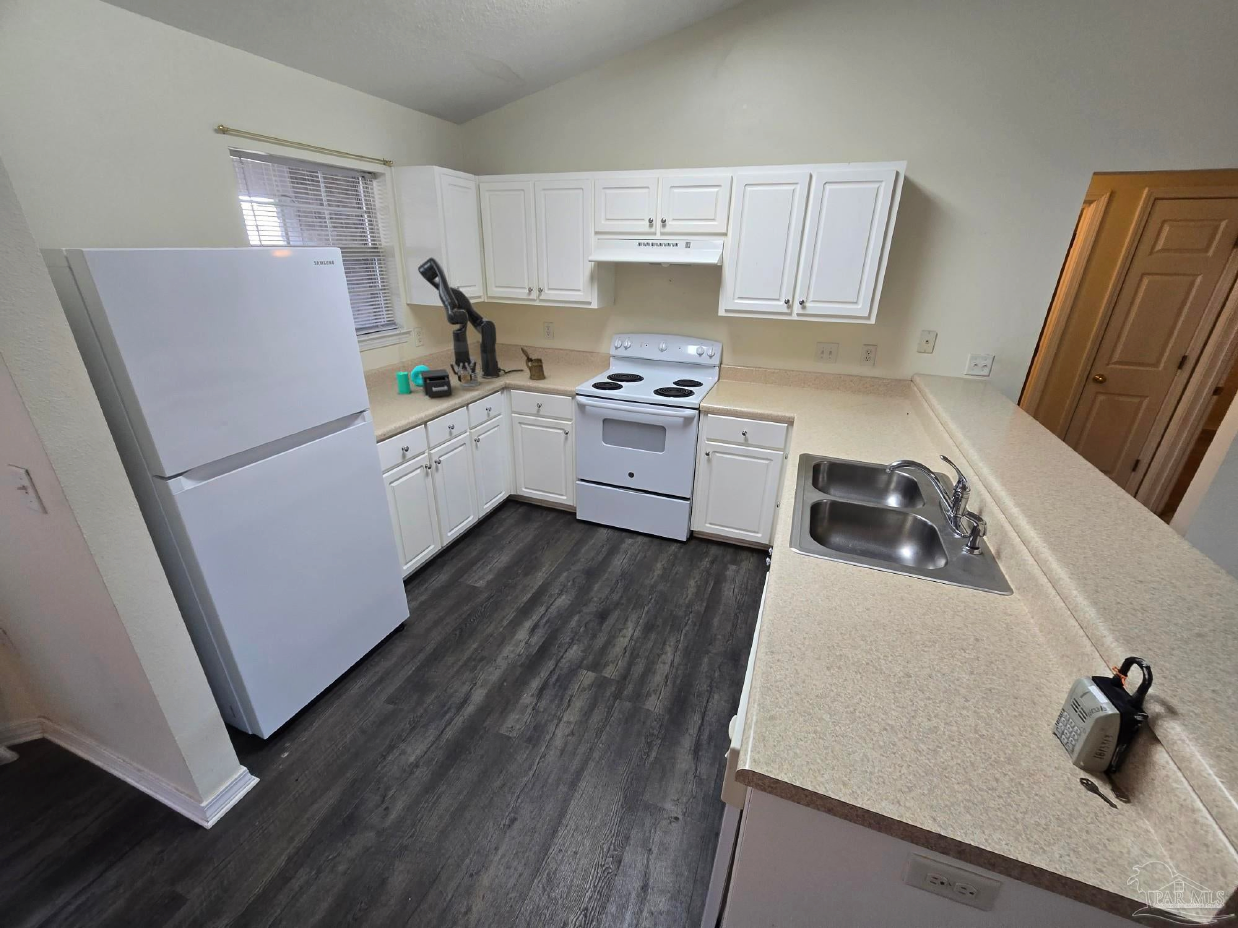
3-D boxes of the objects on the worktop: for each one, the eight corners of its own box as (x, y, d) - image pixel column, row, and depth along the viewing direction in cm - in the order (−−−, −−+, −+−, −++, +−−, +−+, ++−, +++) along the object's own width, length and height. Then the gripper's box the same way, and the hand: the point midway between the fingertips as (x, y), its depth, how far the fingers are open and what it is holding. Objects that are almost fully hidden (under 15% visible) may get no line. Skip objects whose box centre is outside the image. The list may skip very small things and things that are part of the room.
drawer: (453, 397, 259) (451, 382, 256) (429, 400, 255) (427, 384, 252) (448, 389, 275) (446, 374, 272) (426, 391, 271) (423, 376, 267)
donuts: (411, 386, 283) (408, 369, 279) (414, 382, 292) (411, 365, 288) (430, 386, 284) (427, 368, 281) (432, 381, 294) (430, 364, 290)
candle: (396, 393, 270) (392, 370, 265) (404, 390, 275) (401, 368, 271) (405, 394, 268) (401, 371, 263) (413, 391, 273) (410, 369, 269)
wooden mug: (524, 376, 308) (522, 345, 301) (546, 376, 307) (545, 346, 300) (520, 379, 300) (518, 348, 293) (543, 380, 299) (541, 349, 292)
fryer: (451, 392, 272) (448, 374, 268) (425, 395, 267) (423, 376, 263) (447, 386, 284) (445, 369, 280) (423, 388, 279) (420, 371, 275)
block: (468, 380, 277) (467, 372, 276) (470, 382, 274) (469, 374, 272) (460, 381, 276) (459, 373, 274) (461, 383, 272) (460, 375, 270)
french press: (459, 383, 291) (454, 338, 281) (480, 380, 296) (475, 337, 286) (464, 386, 283) (458, 341, 273) (484, 384, 288) (480, 339, 279)
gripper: (448, 352, 262) (452, 384, 269) (476, 349, 267) (480, 381, 274) (446, 349, 268) (450, 381, 275) (473, 347, 274) (477, 378, 280)
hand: (465, 381), depth 275 cm, fingers closed on block, 4 cm apart
